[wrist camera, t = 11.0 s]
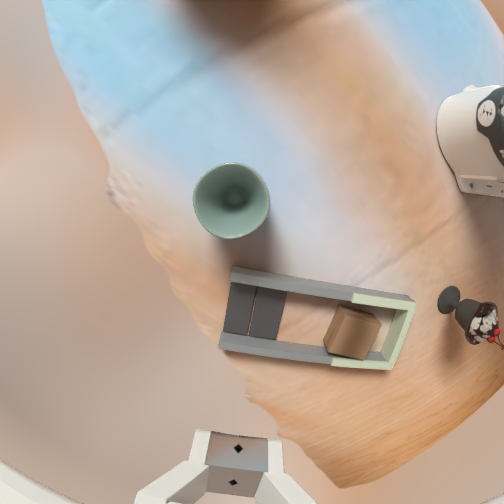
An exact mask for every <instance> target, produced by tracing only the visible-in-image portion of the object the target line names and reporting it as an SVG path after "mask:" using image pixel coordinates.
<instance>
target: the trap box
mask: <svg viewBox="0 0 504 504" xmlns="http://www.w3.org/2000/svg"><path fill="white" fill-rule="evenodd" d="M229 281H231V287H230V293H229V298H228V304H227V310H226V316H225V322H224V328H223V331H226V332H221V337H220V341H219V347H218V348H219V349H224V350H230V351H235V352H241V353H248V354H254V355H260V356H267V357H274V358H281V359H289V360H297V361H306V362H315V363H324V364H331V366H338V367H350V368H365V369H383V370H392V369H393V366H394V364H395V362H396V359H397V357H398V354H399V352H400V350H401V347H402V345H403V342H404V339H405V337H406V334H407V332H408V329H409V326H410V323H411V321H412V318H413V315H414V312H415V309H416V306H417V303H416V302H415V301H414V300H412V299H411V298H410V297H409V296H407V295H401V294H395V293H389V292H382V291H376V290H370V289H364V288H357V287H351V286H345V285H339V284H333V283H327V282H321V281H315V280H309V279H304V278H298V277H292V276H286V275H280V274H275V273H269V272H263V271H258V270H252V269H246V268H241V267H235V266H232V270H231V274H230V280H229ZM256 286H258V291H257V296H256V301H255V306H254V311H253V316H252V321H251V326H250V331H249V336H244V335H247V331H248V326H249V321H250V316H251V311H252V306H253V301H254V296H255V291H256ZM287 291H289V292H295V293H302V294H308V295H314V296H320V297H327V298H333V299H340V300H346V301H351V302H352V303H358V304H365V305H372V306H379V307H387V308H394V309H396V312H395V315H394V318H393V321H392V324H391V326H390V329H389V332H388V335H387V337H386V340H385V343H384V345H383V348H382V351H381V352H372V351H368V353H367V355H366V357H365V359H364V360H362V359H357V358H352V357H348V356H343V355H339V354H335V353H330V352H328V350H327V347H321V346H313V345H305V344H297V343H290V342H283V341H276V336H277V332H278V328H279V323H280V319H281V315H282V311H283V307H284V302H285V298H286V294H287ZM227 332H232V333H227ZM233 333H237V334H233ZM238 334H243V335H238ZM250 336H255V337H250ZM256 337H262V338H256ZM263 338H268V339H263ZM269 339H275V340H269Z"/></svg>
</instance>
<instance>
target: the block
mask: <svg viewBox="0 0 504 504" xmlns="http://www.w3.org/2000/svg"><path fill="white" fill-rule="evenodd" d="M380 328H381V324H380V322H379V321H378V320H377V319H376V317H375V316H374V315H373V314H370V313H367V312H363V311H360V310H356V309H353V308H349V307H346V306H342V305H338V308H337V310H336V312H335V315H334V317H333V319H332V321H331V324H330V326H329V328H328V330H327V332H326V335H325V337H324V339H323V340H324V342H325V345H326V347H327V350H328V352H330V353H335V354H339V355H343V356H348V357H352V358H357V359H362V360H364V359H365V357H366V355H367V353H368V351H369V349H370V348H371V346H372V344H373V342H374V340H375V338H376V336H377V334H378V332H379V330H380Z"/></svg>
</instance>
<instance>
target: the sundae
mask: <svg viewBox="0 0 504 504" xmlns="http://www.w3.org/2000/svg"><path fill="white" fill-rule="evenodd" d="M459 300H460V292H459V290H458V288H457V287H455V286H449V287H447V288H446V289H445V290H444V291H443V292H442V293H441V295H440V297H439V300H438V309H439V311H440V312H441V313H444V314H447V313H450V312H452V311H453V310H454V309H456V310H455V318H456V320H457V321H458V323H459V324H460V326H461V327H462V328H463V329H464V330H465V336H466V339H467V340H468V342H469V343H470V344H473V345H476V344H479V343H484V342H487V341H488V342H489V343H493V342H494V343H496V344H498V343H497V342H495V341H494V340H495V336H498V339H499V334H500V329H499V328H498V326H499V321H498V318H497V307H496V305H495V304H494V303H492V302H484V303H480V302H477V301H474V300H471V299H464V300H462V301H461V302H460V303H459ZM499 342H500V340H499ZM500 344H501V342H500ZM500 344H498V345H500ZM501 345H502V344H501ZM501 345H500V346H501ZM501 347H502V350H503V349H504V345H502V346H501Z"/></svg>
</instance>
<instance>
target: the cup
mask: <svg viewBox="0 0 504 504" xmlns="http://www.w3.org/2000/svg"><path fill="white" fill-rule="evenodd" d="M193 206H194V210H195V213H196V215H197V218H198V220H199V221H200V223H201V224H202V226H203V227H204V228H205V229H206V230H207V231H208V232H210V233H211V234H213V235H214V236H217V237H219V238H223V239H237V238H241V237H244V236H246V235H249V234H250V233H252V232H254V231H255V230H256V229H258V228H259V227H260V226H261V225H262V224H263V222H264V221H265V220H266V218H267V216H268V213H269V210H270V195H269V191H268V188H267V186H266V183H265V182H264V180H263V178H262V177H261V176H260V175H259V174H258V172H257V171H256V170H254V169H253V168H251V167H250V166H248V165H246V164H243V163H238V162H229V163H224V164H220V165H218V166H216V167H214V168H212V169H210V170H209V171H207V172H206V173H205V174H204V175H203V176H202V177H201V178H200V180H199V181H198V182H197V184H196V186H195V189H194V193H193Z"/></svg>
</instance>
